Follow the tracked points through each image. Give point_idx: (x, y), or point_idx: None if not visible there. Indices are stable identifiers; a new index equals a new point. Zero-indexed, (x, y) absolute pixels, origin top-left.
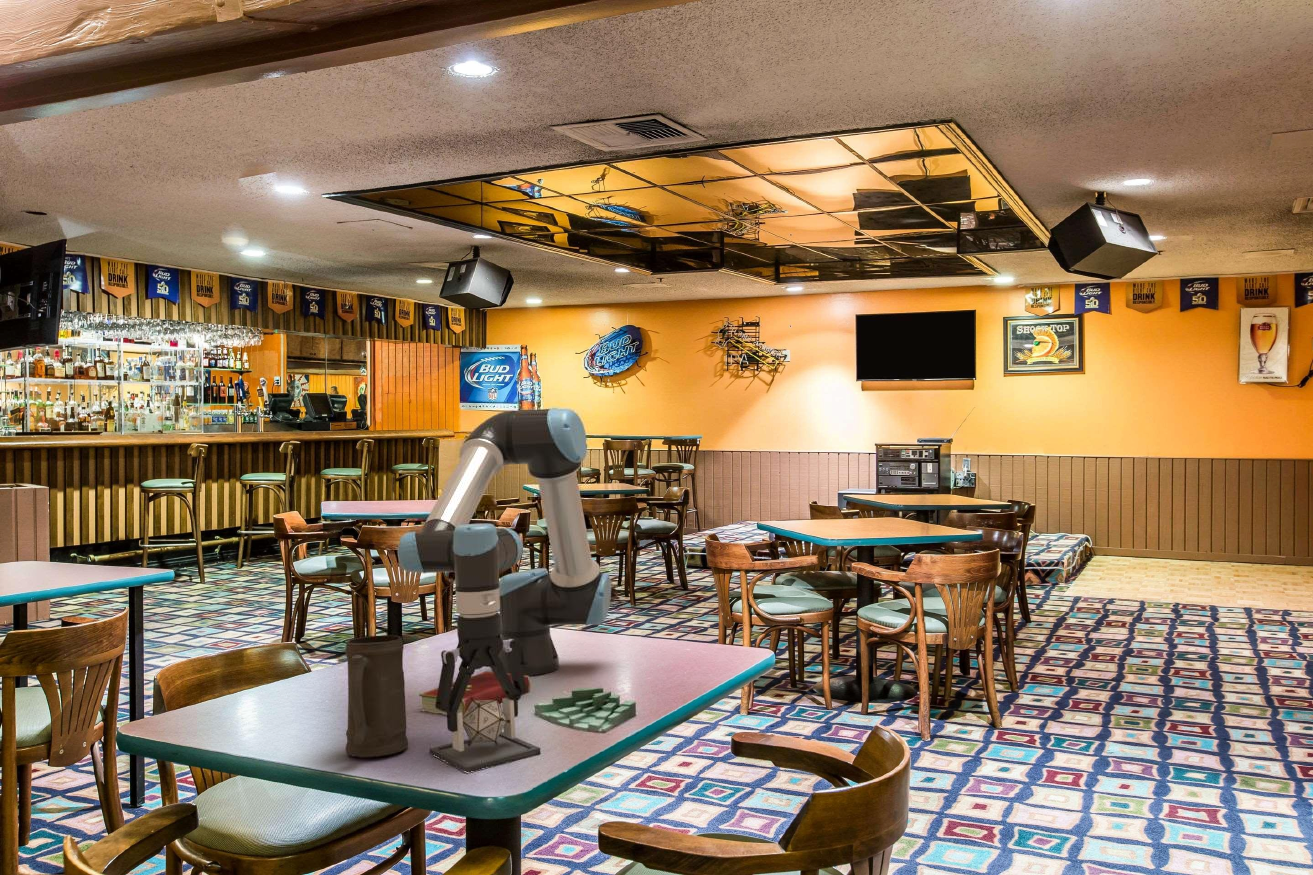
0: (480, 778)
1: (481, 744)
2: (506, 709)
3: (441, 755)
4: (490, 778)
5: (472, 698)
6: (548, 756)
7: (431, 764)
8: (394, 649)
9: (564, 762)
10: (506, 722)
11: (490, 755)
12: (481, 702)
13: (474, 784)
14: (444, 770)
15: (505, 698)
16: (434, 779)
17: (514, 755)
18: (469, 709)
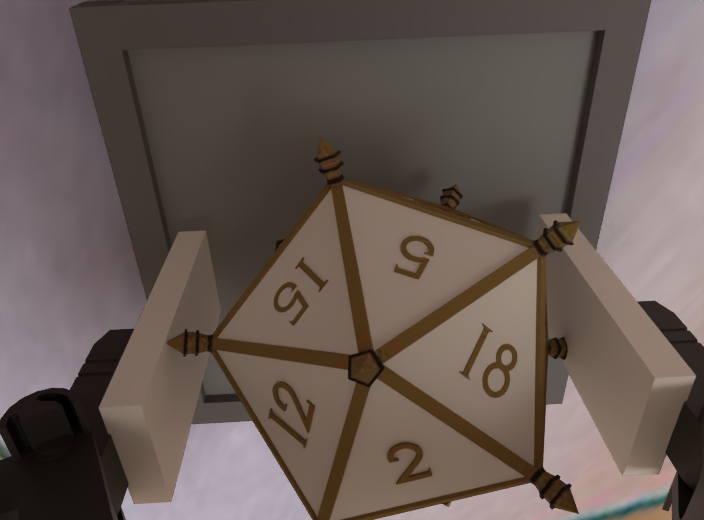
0: (214, 468)
1: (411, 130)
2: (602, 367)
3: (119, 186)
4: (246, 485)
5: (364, 382)
6: (549, 423)
7: (59, 199)
8: None
9: (539, 496)
10: (563, 300)
11: None
12: (388, 469)
13: (173, 499)
14: (105, 318)
15: (673, 389)
16: (38, 386)
17: None
18: (285, 397)
